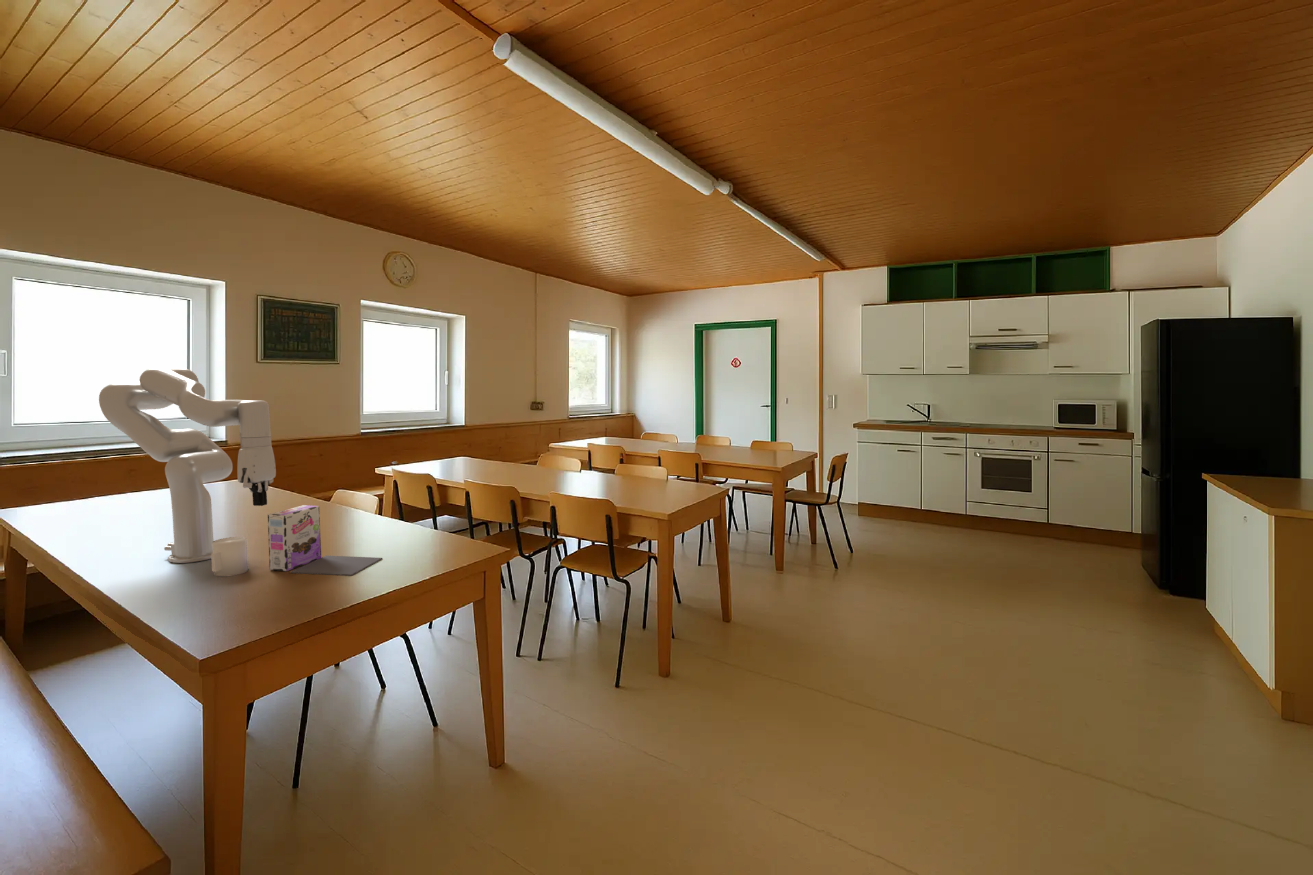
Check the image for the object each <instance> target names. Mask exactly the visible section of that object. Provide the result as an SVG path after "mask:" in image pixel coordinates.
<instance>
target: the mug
mask: <svg viewBox="0 0 1313 875" xmlns="http://www.w3.org/2000/svg"><path fill="white" fill-rule="evenodd" d="M212 548H213V553H211V559H210V560H211V571H212V572H213V575H214V576H216V577H231V576H237V575H240V574H245V573H247V572H248V571H249V555H248V554H249V552H248V551H249V550H248V538H247V537H246V536H245V537H244V536H230V537H224V538H219V539H216V540H214V541H213V542H212Z"/></svg>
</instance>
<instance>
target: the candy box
mask: <svg viewBox="0 0 1313 875" xmlns="http://www.w3.org/2000/svg"><path fill="white" fill-rule="evenodd" d="M320 513H321V512H320V505H311V504H310V505H309V504H308V505H306V504H302V505H300V506H299V505H298V506H295V507H292V508H289V509H288V508H287V509H284V510H280V511H276V512H271V513H267V532H268V535H267V536H268V559H269V560H268V561H269V564H268V565H269V566H268V567H269V570H271V571H281V572H288V571H292V570H295V569H298V568H300V567H302V566H304V565H306V564H309V563H311V562H313V561H315V560H318V559H320V558H322V544H321V543H322V541H321V520H320V519H321V518H320V517H321V516H320Z"/></svg>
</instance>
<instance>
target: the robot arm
mask: <svg viewBox="0 0 1313 875" xmlns="http://www.w3.org/2000/svg"><path fill="white" fill-rule="evenodd" d="M205 397H206V389H205V387H204V385H203V384H202V383H200V382H199V378H198V375H197V374H196V373H194V372H193V371H192V370H191V369H188V368H185V367H171V366H170V367H167V366H165V367H164V366H163V367H161V366H157V367H151V368H148V369H146V370H144V371H143V372H142V373H141V374H140V376H139V381H125V382H124V381H123V382H113V383H111V384H108V385H106V386H105V387H103V388H102V389H101V391H100V392H99V396H98V403H99V407H100V410H101V412H102V414H103V415H104V418H105V419H106V420H107V421H108V422H109V423H110V424H111V425H113V426H114V427H115V428H116V429H118V430H120V431H121V432H122V433H123V434H125V435H126V436H128V437H129V438H130V439H131V440H132V441H133V442H134V443H135V444H136V445H137V446H138V447H139V448H141V449H142V450H143V451H144V452H145V453H146V454H147V455H148V456H149V457H151V458H152V459H153V460H155V461H157V462H160V463H166V464H165V467H164V474H165V477H166V480H167V485H168V487H169V488H168V489H169V492H170V493H169V494H170V502H171V513H172V515H171V516H172V528H173V529H172V530H173V531H172V532H173V542H168V543H167V544H166V545H165V546H164V548H163V549H164V551H169V552H170V551H171V554H170V555H169V556H168V561H169V562H170V563H174V564H185V563H186V564H187V563H189V564H190V563H195V562H204V561H207V560H211V553H213V548H212V542H213V541H215V540H214V526H213V524H214V523H213V522H214V521H213V509H212V505H213V504H212V498H211V495H210V494H211V493H210V492H209V491H208V489H207V488H206V487H205V484H206V483H212V482H218V481H223V480H224V479H226V478H228V477H229V476H230V475H231V474H232V472H233V461H232V459H231V457H230V456H229V455H228V453H226V451H224V450H223V449H222V447H220V446H219V445H217V443H215V442H214V441H213V439H211V438H210V437H209V436H207V435H206V434H205V433H204V432H203V431H200V430H198V429H193V428H183V429H182V428H178V429H172V428H169V427H168V426H166V425H165V424H164V423H162V422H161V421H160V420H159V419H157V418H156V417H155V416H153V415H151V414H149V413H146V412H144V411H143V410H145V411H146V410H159V409H160V410H161V409H164V408H168V407H170V406H172V405H176V406H177V407H178V409H179V410H180V412H181V413H182V415H184V417H185V418H187V419H189V420H191V421H193V422H195V423H198V424H200V425H202V426H207V427H212V428H213V427H216V428H218V427H227V426H231V427H232V426H239V438H240V448H239V450H238V454H237V464H236V466H237V470H236V472H237V482H238V483H240V484H242V487H243V488H244V489H249V491H250V493H252V505H253V506H255V507H260V506H261V507H262V506H266V505H268V497H267V496H268V495H267V494H268V493H267V491H268V490H269V486H270V484H272V483H274V478H276V476H277V469H276V468H277V467H276V459H275V454H274V449H273V447H272V445H273V444H272V433H271V432H272V431H271V419H270V418H271V416H270V405H269V403H268V401H266V400H260V399H258V400H256V399H255V400H246V399H214V400H212V399H208V398H205Z"/></svg>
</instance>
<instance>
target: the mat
mask: <svg viewBox="0 0 1313 875" xmlns="http://www.w3.org/2000/svg"><path fill="white" fill-rule="evenodd" d="M382 560H383V557H369V556H368V557H367V556H349V555H347V556H346V555H344V556H343V555H324V556H321V558H320V559H318V560H315V561H312V562H310V563H307V564H304V565H302V566H299V567H297V568H294V569H292V570H290V574H302V575H304V574H305V575H326V576H345V577H346V576H348V577H349V576H350V577H352V576H354V575H356V574H357V573H360V572H362V571H363V570H365V569H367V568H369V567H371V566H372V565H374V564H377V563H378V562H380V561H382Z"/></svg>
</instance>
